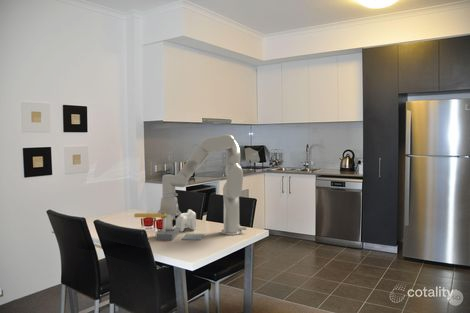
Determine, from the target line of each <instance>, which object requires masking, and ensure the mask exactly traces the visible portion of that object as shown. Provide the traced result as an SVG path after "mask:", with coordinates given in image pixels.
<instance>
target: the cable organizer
mask: <svg viewBox="0 0 470 313" xmlns="http://www.w3.org/2000/svg"><path fill="white" fill-rule="evenodd" d="M181 213H182V212H181ZM176 215H178V213H177V214H176ZM174 227H175V228H179V233H182V232H184V230H185V229H191V230H192V231H195V230H196V229H197V213H196V212H195V211H193V210H192V209H187V212H183V213H182V214H181V215H180V216H178V217H177V218H176V225H175V226H174Z"/></svg>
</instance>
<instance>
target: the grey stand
mask: <svg viewBox="0 0 470 313" xmlns="http://www.w3.org/2000/svg"><path fill="white" fill-rule="evenodd" d="M179 234H180V231H179V228H176V227H175V229H174V231H166V217H163V220H162V228H161V230H160V231H158V232H157V233H156V234H155V235H156V236H155V239H156V241H173V240H174V239H175V238H176V237H177V236H178V235H179Z"/></svg>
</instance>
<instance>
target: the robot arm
mask: <svg viewBox="0 0 470 313" xmlns="http://www.w3.org/2000/svg"><path fill="white" fill-rule="evenodd" d="M219 151H225V153H226V154H225V155H226V157H225V158H226V160H225V168H224V170H225V171H224V172H225V176H226V182H225V183H224V184H223V187H222V197H223V198H222V199H223V229H221V231H220V233H221V234H223V235H226V236H235V235H241V234H242V231H247V227H246V226H241V224H240V197H241V194H242V192H243V182H244V181H243V180H244V171H243V168H242V166H241V148H240V146H239V143H238V142H237V141H236V140H235V137H234V135H231V134H229V133H228V134H222V135H218V136H211V137H205V138H202V140H201V141H200V143H199V144H198V145H197V146H196V148H195V149H194V151H193V152H192V153H191V155H190V156H189V158H188V159H187V161H186V162H185V164H183V166H182V167H181V169H180V170H179V171H178V173H177V174H176V175H174V174H168V173H167V174H163V175H162V177H161V178H162V179H161V180H162V182H161V183H162V191H161V192H162V197H161V200H160V206H159V207H160V208H159V210H158V211H157V212H156V213H166V214H170V215H172V216H173V227H175V225H176V218H177V217H178V216H180V215H181V214H182V212H181V210H180V209H179V204H178V203H179V202H178V197H177V196H179V193H177V192H176V188H184V187H186V186H187V185H188V184H189V179H190V178H192V175H193V174H194V173H195V172H196V171H197V170H198V169H199V168H201V167H202V166H203V164H204V163H205V161H206V160H207V158H208V157H209V156H210V154H211V153H214V152H219ZM177 213H178V215H176V214H177ZM160 218H161V219H162V221H163V217H160Z"/></svg>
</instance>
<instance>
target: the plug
mask: <svg viewBox="0 0 470 313" xmlns="http://www.w3.org/2000/svg"><path fill="white" fill-rule="evenodd" d="M175 228H176V227H175V226H174V227H173V216H172V215H170V214H167V217H166V231H174V229H175Z"/></svg>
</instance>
